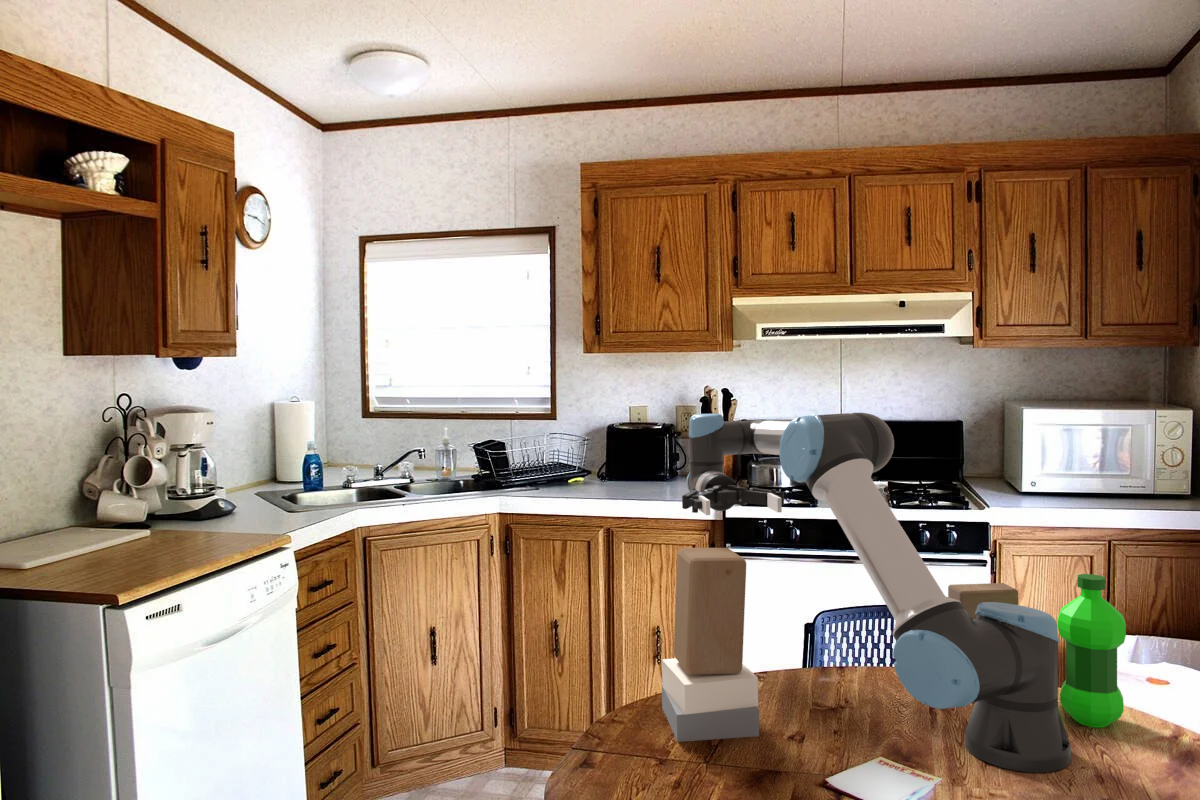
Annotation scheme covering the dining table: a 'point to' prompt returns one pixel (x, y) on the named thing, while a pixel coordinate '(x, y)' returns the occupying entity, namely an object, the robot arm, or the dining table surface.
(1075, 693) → the plastic bottle
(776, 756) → the dining table surface
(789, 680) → the dining table surface
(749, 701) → the tower top
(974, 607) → the decorative block
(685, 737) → the tower base
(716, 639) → the wooden block
